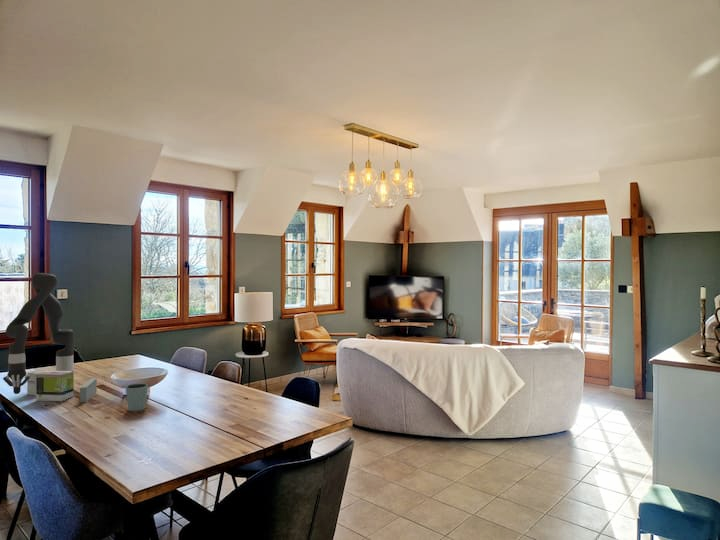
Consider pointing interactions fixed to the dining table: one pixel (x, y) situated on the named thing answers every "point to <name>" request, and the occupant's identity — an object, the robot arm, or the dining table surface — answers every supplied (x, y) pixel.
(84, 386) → the stop board
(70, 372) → the tea box
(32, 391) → the supplement box
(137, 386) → the grey green open cylinder
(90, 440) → the dining table surface
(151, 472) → the dining table surface
